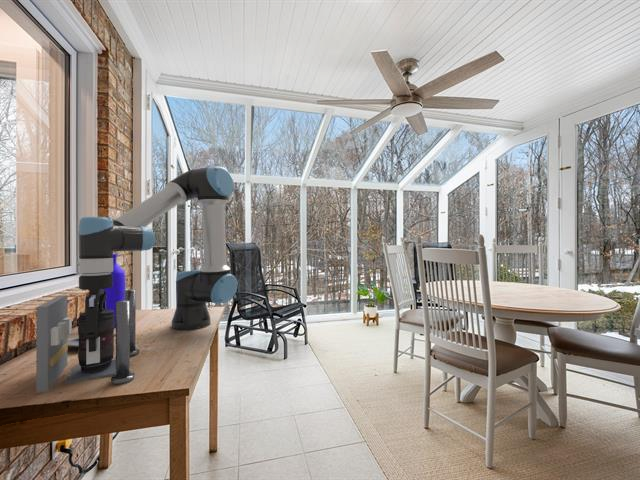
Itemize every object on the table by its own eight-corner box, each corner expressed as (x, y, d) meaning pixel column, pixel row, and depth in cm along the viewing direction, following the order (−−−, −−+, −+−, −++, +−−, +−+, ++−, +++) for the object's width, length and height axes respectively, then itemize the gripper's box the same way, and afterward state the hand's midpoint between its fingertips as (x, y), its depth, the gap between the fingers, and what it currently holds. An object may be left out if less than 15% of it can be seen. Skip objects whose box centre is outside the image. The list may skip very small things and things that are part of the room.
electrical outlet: (81, 352, 95) (81, 344, 95) (55, 350, 98) (55, 342, 98) (117, 339, 108) (117, 332, 108) (93, 337, 110) (93, 331, 110)
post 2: (139, 350, 98) (139, 288, 98) (138, 355, 93) (138, 290, 93) (121, 353, 95) (121, 289, 96) (119, 358, 91) (119, 292, 91)
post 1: (135, 374, 80) (135, 298, 80) (133, 382, 76) (133, 302, 76) (112, 378, 78) (112, 300, 78) (109, 386, 73) (109, 304, 73)
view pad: (122, 360, 90) (122, 358, 90) (117, 374, 80) (117, 372, 80) (75, 367, 85) (75, 365, 85) (64, 383, 75) (64, 381, 75)
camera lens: (120, 364, 84) (120, 310, 84) (85, 375, 77) (85, 316, 77) (106, 359, 88) (106, 307, 88) (72, 369, 81) (72, 313, 81)
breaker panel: (73, 364, 87) (73, 294, 87) (55, 390, 72) (55, 305, 72) (58, 366, 85) (58, 295, 85) (36, 393, 70) (36, 307, 70)
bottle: (112, 322, 131) (112, 253, 131) (130, 323, 130) (130, 253, 130) (96, 328, 123) (96, 254, 123) (114, 328, 122) (114, 254, 122)
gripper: (87, 271, 90) (87, 347, 90) (68, 279, 71) (68, 375, 71) (117, 269, 94) (117, 343, 93) (106, 277, 75) (107, 368, 75)
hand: (96, 357), depth 82 cm, fingers open, 8 cm apart
